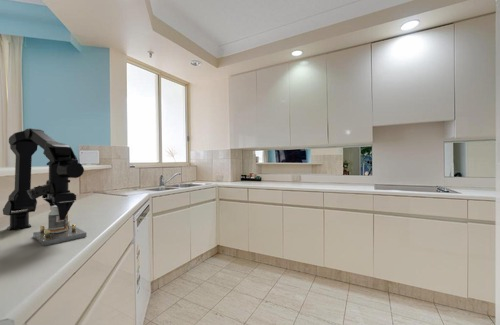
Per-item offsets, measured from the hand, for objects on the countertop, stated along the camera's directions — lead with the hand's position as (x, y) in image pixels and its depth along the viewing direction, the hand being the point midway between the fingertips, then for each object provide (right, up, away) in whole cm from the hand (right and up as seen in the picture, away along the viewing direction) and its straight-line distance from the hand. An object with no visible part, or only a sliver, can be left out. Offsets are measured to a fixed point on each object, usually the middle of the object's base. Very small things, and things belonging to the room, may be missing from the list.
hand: (58, 218), depth 84 cm
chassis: (+2, -7, -1) cm, 7 cm away
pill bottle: (0, -5, 0) cm, 5 cm away
